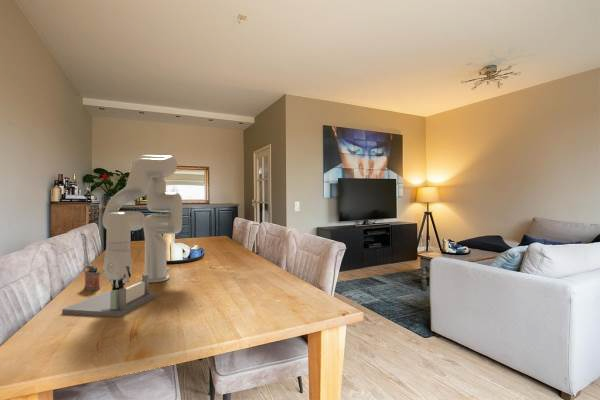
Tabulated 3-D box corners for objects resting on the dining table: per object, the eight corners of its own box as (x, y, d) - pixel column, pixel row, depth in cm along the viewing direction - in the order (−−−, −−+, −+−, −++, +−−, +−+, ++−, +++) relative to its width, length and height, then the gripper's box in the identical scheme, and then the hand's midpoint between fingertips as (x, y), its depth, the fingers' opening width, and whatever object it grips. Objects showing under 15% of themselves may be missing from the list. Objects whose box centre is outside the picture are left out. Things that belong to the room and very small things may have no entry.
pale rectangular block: (140, 294, 118) (140, 278, 118) (144, 294, 118) (145, 279, 118) (110, 309, 102) (110, 291, 102) (115, 309, 102) (115, 291, 102)
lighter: (101, 288, 131) (102, 265, 131) (93, 291, 128) (94, 267, 128) (90, 286, 135) (90, 264, 134) (82, 288, 131) (82, 265, 131)
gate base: (108, 294, 124) (108, 272, 124) (156, 296, 121) (156, 274, 121) (62, 313, 103) (62, 287, 103) (119, 317, 101) (119, 290, 101)
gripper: (95, 246, 109) (94, 297, 109) (121, 249, 102) (120, 304, 102) (115, 243, 116) (115, 291, 116) (141, 246, 109) (141, 297, 109)
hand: (117, 297), depth 109 cm, fingers closed
